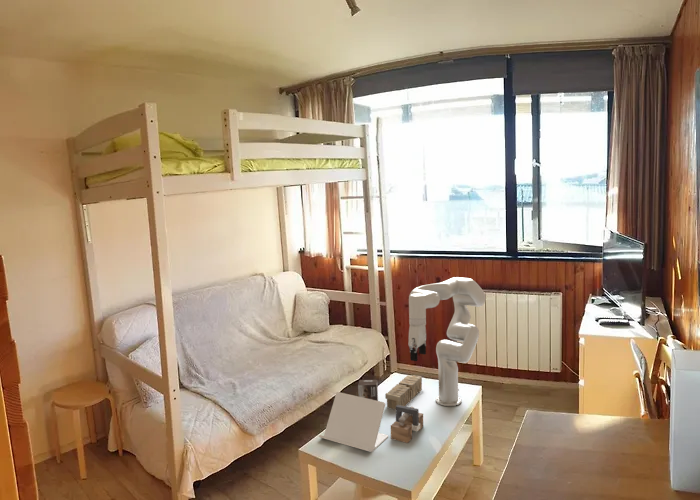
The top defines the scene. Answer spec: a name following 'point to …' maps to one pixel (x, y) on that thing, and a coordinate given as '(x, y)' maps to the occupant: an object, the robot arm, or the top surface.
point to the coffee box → (368, 389)
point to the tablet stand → (355, 422)
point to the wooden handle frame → (404, 427)
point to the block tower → (404, 391)
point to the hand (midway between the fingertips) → (418, 357)
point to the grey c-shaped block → (411, 411)
